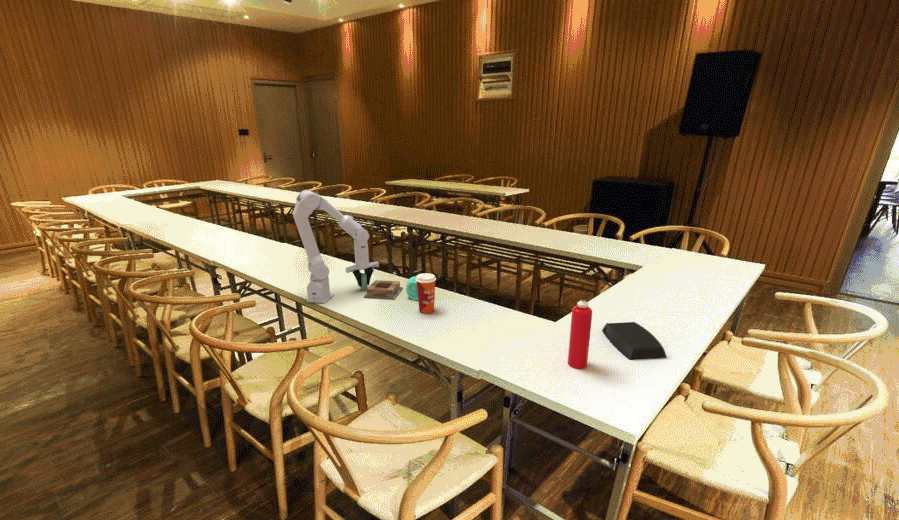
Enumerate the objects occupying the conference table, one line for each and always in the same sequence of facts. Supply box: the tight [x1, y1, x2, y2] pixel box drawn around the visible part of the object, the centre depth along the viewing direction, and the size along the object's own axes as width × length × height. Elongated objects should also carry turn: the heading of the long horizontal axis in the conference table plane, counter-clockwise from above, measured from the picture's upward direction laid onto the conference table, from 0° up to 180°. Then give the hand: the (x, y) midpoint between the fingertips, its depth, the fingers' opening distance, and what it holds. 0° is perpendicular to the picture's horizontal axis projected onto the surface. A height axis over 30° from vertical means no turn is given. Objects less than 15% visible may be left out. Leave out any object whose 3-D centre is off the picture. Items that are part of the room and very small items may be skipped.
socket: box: [363, 279, 404, 301], centre depth 177 cm, size 13×13×4 cm
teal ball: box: [405, 275, 418, 302], centre depth 172 cm, size 8×8×8 cm
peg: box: [359, 272, 369, 292], centre depth 181 cm, size 3×3×7 cm
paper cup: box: [416, 272, 437, 314], centre depth 158 cm, size 8×8×14 cm
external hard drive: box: [601, 321, 667, 361], centre depth 133 cm, size 13×19×4 cm
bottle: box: [567, 299, 593, 370], centre depth 119 cm, size 5×5×20 cm
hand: (363, 285), depth 181 cm, fingers closed on peg, 3 cm apart
